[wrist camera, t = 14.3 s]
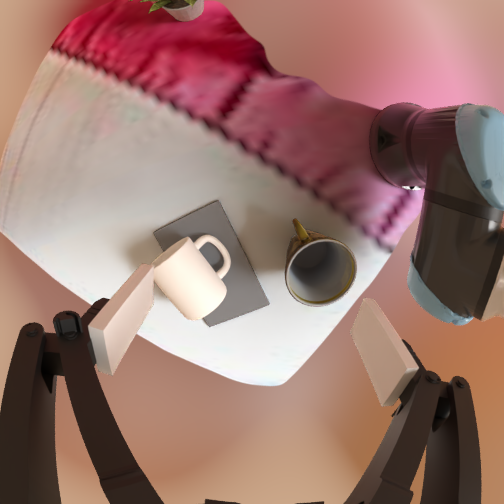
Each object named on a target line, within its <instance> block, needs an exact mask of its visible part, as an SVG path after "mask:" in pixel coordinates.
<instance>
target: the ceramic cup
mask: <svg viewBox="0 0 504 504" xmlns="http://www.w3.org/2000/svg"><path fill="white" fill-rule="evenodd" d="M292 222H293V224H294V226H295V229H296V232H297V235H295V236H293V237H292V239H291V242H290V245H289V248H288V251H287V260H286V266H285V280H286V285H287V288H288V290H289V292H290V294H291V295H292V296H293V297H294V298H295V299H296V300H297V301H298V302H300V303H302V304H305V305H308V306H313V307H321V306H326V305H329V304H332V303H334V302H336V301H338V300H339V299H341V298H342V297H343V296H344V295H346V293H347V292H348V291H349V290H350V288H351V287H352V285H353V283H354V281H355V278H356V273H357V264H356V260H355V257H354V255H353V253H352V251H351V250H350V249H349V248H348V247H347V246H346V245H345V244H343V243H342V242H340V241H338V240H336V239H333V238H331V237H327V236H325V235H323V234H320V233H317V232H313V231H310V230H305V229H304V228H303V226H302V225H301V224H300V222H299V221H298V220H297V219H293V220H292Z"/></svg>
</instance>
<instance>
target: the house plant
mask: <svg viewBox="0 0 504 504" xmlns="http://www.w3.org/2000/svg"><path fill="white" fill-rule="evenodd" d="M130 1H132V0H130ZM145 1H158V2H156V3H154V4H153V5H152V7H151V9H150V11H149V13H150V12H152V11H155V10H157V9H159V8H161V7H162V8H163V9H165V10H166V11H167V12H168V13H169V14H171V15H172V16H173V17H174V18H175V19H177V20H179V21H183V22H186V21H191V20H193V19H195V18H197V17H198V16H200V15H201V14H202V12H203V9H204V0H142V1H140V2H145ZM149 13H148V14H149Z"/></svg>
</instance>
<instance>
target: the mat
mask: <svg viewBox="0 0 504 504" xmlns="http://www.w3.org/2000/svg"><path fill="white" fill-rule="evenodd" d="M154 235H155V237H156V239H157V241H158V242H159V244H160V246H161V248H162V250H163V251H166V250H167V249H168V248H169V247H171V246H172V245H174V244H175V243H177V242H178V241H180V240H181V239H183V238H185V237H190V239H191V240H192V242H193V243H194V242H195V241H196V240H197V239H198V238H200V237H201V236H203V235H212V236H214V237H215V238H217V239H218V240H219V241H220V242H221V243H222V244H223V245H224V246H225V248H226V249H227V251H228V253H229V255H230V259H231V265H230V268H229V270H228V272H227V273H226V275H225V276H224V277H223V278H222V279H221V280H222V281H223V283H224V284H225V286H226V289H227V292H226V296H225V298H224V299H223V301H222V302H221V303H220V305H219V306H218V307H217V308H216V309H215V310H213V311H212V312H211V313H209V314H208V315H206V316H205V317H203V318H204V320H205V321H206V323H207V324H208V326H209V327H211V326H214V325H217V324H219V323H222V322H225V321H228V320H230V319H233V318H236V317H239V316H241V315H244V314H247V313H249V312H252V311H254V310H257V309H260V308H262V307H265V306H267V305H269V301H268V299H267V297H266V295H265V293H264V291H263V289H262V287H261V285H260V283H259V281H258V279H257V277H256V275H255V273H254V271H253V269H252V267H251V265H250V263H249V261H248V259H247V257H246V255H245V253H244V251H243V249H242V247H241V245H240V243H239V241H238V239H237V236H236V234H235V232H234V230H233V228H232V226H231V224H230V222H229V220H228V218H227V216H226V214H225V212H224V210H223V208H222V206H221V204H220V202H219V200H218V201H216V202H214V203H211V204H209V205H207V206H205V207H203V208H201V209H199V210H197V211H195V212H193V213H191V214H189V215H187V216H185V217H183V218H180V219H178V220H176V221H175V222H173V223H171V224H169V225H167V226H165V227H163V228H161V229H159V230H157V231H155V232H154ZM199 251H200V252H201V254H202V255H203V256H204V258H205V259H206V260H207V262H208V263H209V264H210V266H211V267H212V268H213V269H214V271H215V272H217V271H218V270H220V269H221V268H222V266H223V264H224V258H223V256H222V254H221V252H220V251H219V249H218V248H217V247H216V246H215V245H213V244H212V243H210V242H206V243H205V244H204V245H203V246H202V247H201V248H200V249H199Z"/></svg>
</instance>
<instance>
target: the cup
mask: <svg viewBox="0 0 504 504" xmlns="http://www.w3.org/2000/svg"><path fill="white" fill-rule="evenodd" d="M206 242H210V243H212V244H213V245H215V246H216V247H217V248H218V249H219V251H220V252H221V254H222V256H223V258H224V264H223V266H222V268H221V269H220V270H218V271H217V272H215V271H214V269H213V268H212V267H211V266H210V264H209V263H208V262H207V260H206V259H205V258H204V256H203V255H202V254H201V252H200V251H199V249H200V248H201V247H202V246H203V245H204V244H205V243H206ZM150 265H153V266H154V282H155V283H156V284H157V285H158V287H159V288H160V289H161V290H162V291H163V293H164V294H165V295H166V296H167V297H168V298H169V300H170V301H171V302H172V303H173V304H174V305H175V307H176V308H177V309H178V310H179V311H180V312H181V313H182V314H183V316H184V317H186V318H187V319H189V320H198V319H201V318H203V317H205V316H206V315H208V314H209V313H211V312H212V311H213V310H215V309H216V308H217V307H218V306H219V305H220V303H221V302H222V301H223V299H224V298H225V296H226V292H227V289H226V286H225V284H224V283H223V281H222V280H221V279H222V278H223V277H224V276H225V275H226V273H227V272H228V270H229V268H230V265H231V259H230V255H229V253H228V251H227V249H226V248H225V246H224V245H223V244H222V243H221V242H220V241H219V240H218V239H217V238H215V237H214V236H212V235H203V236H201V237H200V238H198V239H197V240H196V241H195V242H194V243H193V242H192V240H191V239H190V237H185V238H183V239H181V240H180V241H178V242H177V243H175V244H174V245H172V246H171V247H169V248H168V249H167V250H166V251H164V252H163V253H162V254H161V255H160V256H158V257H157V258H156V259H155V260H154V261H153V262H152V263H151V264H150Z"/></svg>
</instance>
